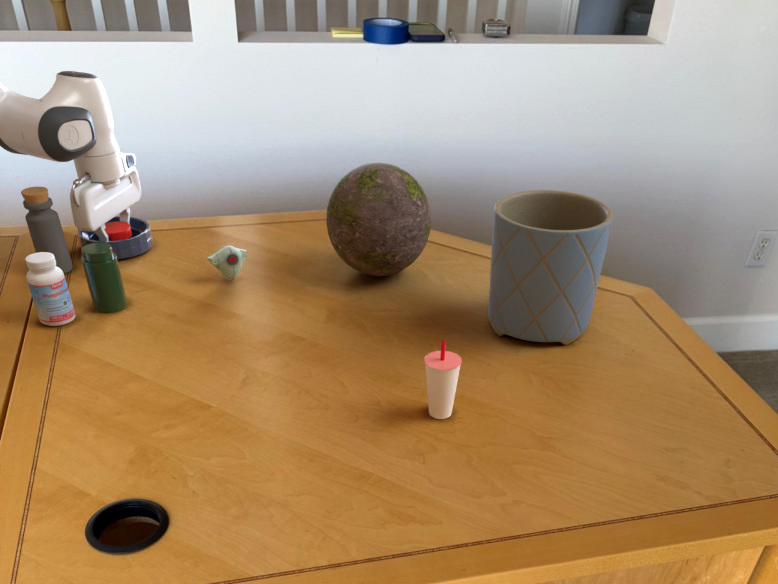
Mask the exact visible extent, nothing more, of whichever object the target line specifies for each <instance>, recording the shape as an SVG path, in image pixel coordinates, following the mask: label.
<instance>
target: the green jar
mask: <svg viewBox="0 0 778 584" xmlns="http://www.w3.org/2000/svg"><path fill="white" fill-rule="evenodd" d="M80 251H81V257H80V262H81V266H82V269H83V274H84V277H85V281H86V284H87V288H88V292H89V296H90V299H91V303H92V307H93V309H94V310H95V311H96V312H99V313H102V314H103V313H104V314H110V313H111V314H112V313H117V312H120V311H122V310H124V309H125V308H127V307H128V303H129V301H128V299H127V293H126V290H125V286H124V281H123V277H122V274H121V268H120V264H119V261H118V260H119V259H117V256H116V254H115V253H114V252H112V248H111V245H109V244H107V243H92V244H88V245H86V246H84V247H83V248H82V249H81V248H80Z"/></svg>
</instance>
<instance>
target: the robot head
mask: <svg viewBox="0 0 778 584" xmlns="http://www.w3.org/2000/svg"><path fill="white" fill-rule="evenodd" d="M247 258H248V253H247V250H246V249H243V248H238V247H234V246H233V245H225V246H223V247H221V248H220V249H218V250H217V251H215V252H214V253H213V254H211V255H209V256H207V257H206V259H207V261H208V262H209V263H210V264H211V265H212V266H213V267H214V268H215V269H216V270H217V271H219V272H220V273H221V275H222V276H223V277H224V278H225V279H226V280H235V279H236V278H238V276H239V275H240V273H241V270H242V266H243V265H244V262H245V260H246V259H247Z"/></svg>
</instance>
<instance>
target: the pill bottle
mask: <svg viewBox="0 0 778 584" xmlns="http://www.w3.org/2000/svg"><path fill="white" fill-rule="evenodd" d="M24 261H25V264H26V267H27V269H28V271H27V272H26V275H25V276H26V277H25V278H26V282H27V285H28V288H29V292H30V295H31V298H32V302H33V304H34V308H35V311H36V314H37V317H38V320H39V322H40V324H43V325H45V326H49V327H60V326H65V325H67V324H70V323H71V322H73V321H74V320H75V318H76V311H75V308H74V304H73V302H72V298H71V294H70V292H69V287H68V283H67V280H66V277H65V273H63V271H62V270H61V269H60V268H59V267H57V266H56V260H55V257H54V255H53V254H52V253H49V252H38V253H36V252H34V253H31V254H28V255H27V256H26V257H25V260H24Z"/></svg>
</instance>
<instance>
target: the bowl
mask: <svg viewBox="0 0 778 584" xmlns="http://www.w3.org/2000/svg"><path fill="white" fill-rule="evenodd" d="M117 221H119V222H120V215H117V216H115V217H114V218H112V219H111V220H109V221H108V222H106V223H109V222H117ZM129 223H130V227H131V231H132V236H131V237H130V238H128V239H124V240H118V241H99V237H98V236H97V235H96V233H95V232H94V231H92V232H91V231H82V230H79V229H78V228H77V232H76V235H77V239H78V242H79V246H80V250H81V249H82V248H83V247H84V246H86V245H88V244H92V243H107V244H109V245H111V248H112V252H114V253H115V254H116V256H117V260H122V259H127V258H133V257H136V256H139V255H142V254H144V253H146V252H147V251H149V250H150V249H151V248H152V247H153V246H154V240H153V233H152V230H151V225H150V223H149V222H148V221H147V220H145V219H142V218H140V217H135V216H130V220H129Z"/></svg>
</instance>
